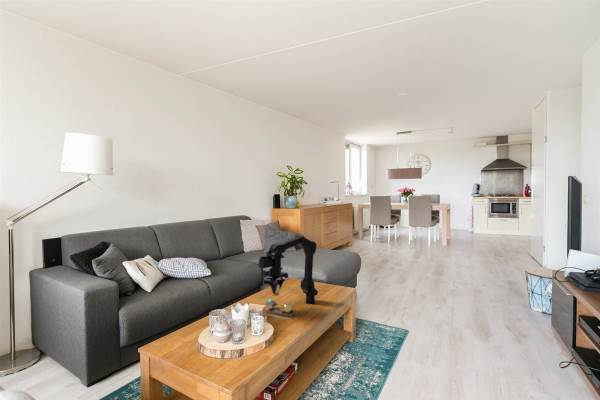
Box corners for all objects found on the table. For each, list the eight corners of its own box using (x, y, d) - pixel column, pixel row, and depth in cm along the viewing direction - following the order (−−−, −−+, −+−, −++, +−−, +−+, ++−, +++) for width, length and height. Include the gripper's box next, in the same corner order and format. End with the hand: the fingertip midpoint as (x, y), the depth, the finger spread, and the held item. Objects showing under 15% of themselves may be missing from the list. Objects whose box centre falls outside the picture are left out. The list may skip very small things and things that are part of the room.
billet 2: (286, 312, 179) (286, 302, 178) (292, 314, 177) (292, 303, 177) (283, 315, 175) (282, 304, 175) (289, 316, 173) (289, 305, 173)
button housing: (269, 304, 195) (269, 299, 195) (275, 305, 193) (275, 300, 193) (265, 307, 191) (265, 302, 191) (271, 308, 189) (271, 303, 189)
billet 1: (275, 293, 183) (275, 283, 183) (280, 294, 181) (280, 283, 181) (271, 295, 180) (271, 284, 180) (277, 296, 178) (277, 285, 178)
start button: (270, 303, 194) (270, 298, 194) (273, 304, 193) (273, 299, 193) (267, 305, 192) (267, 300, 192) (271, 305, 190) (271, 300, 190)
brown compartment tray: (273, 309, 187) (273, 305, 187) (298, 314, 179) (298, 309, 179) (263, 316, 177) (263, 311, 177) (289, 321, 169) (289, 316, 169)
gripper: (273, 261, 192) (272, 286, 192) (255, 267, 176) (255, 295, 176) (288, 263, 187) (288, 289, 187) (272, 270, 170) (272, 298, 171)
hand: (276, 292), depth 180 cm, fingers closed on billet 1, 4 cm apart
